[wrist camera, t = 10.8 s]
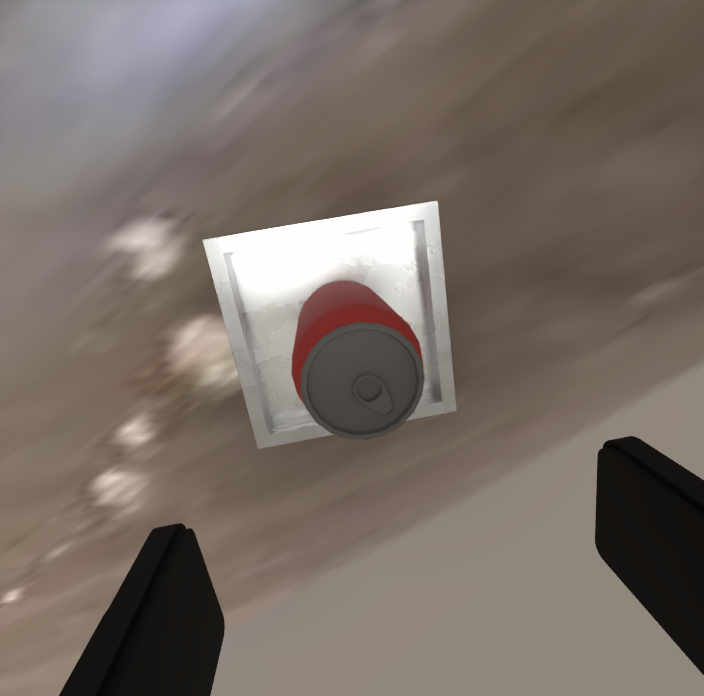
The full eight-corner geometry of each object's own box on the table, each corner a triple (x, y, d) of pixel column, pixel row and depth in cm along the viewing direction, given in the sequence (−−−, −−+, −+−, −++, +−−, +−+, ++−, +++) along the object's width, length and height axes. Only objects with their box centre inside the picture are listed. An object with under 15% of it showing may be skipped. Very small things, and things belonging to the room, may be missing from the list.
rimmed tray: (424, 203, 28) (437, 200, 25) (443, 395, 32) (456, 411, 29) (214, 239, 27) (202, 239, 24) (263, 429, 32) (258, 449, 29)
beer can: (338, 383, 30) (354, 476, 19) (279, 320, 28) (255, 379, 17) (405, 328, 29) (464, 389, 18) (349, 259, 27) (374, 278, 16)
